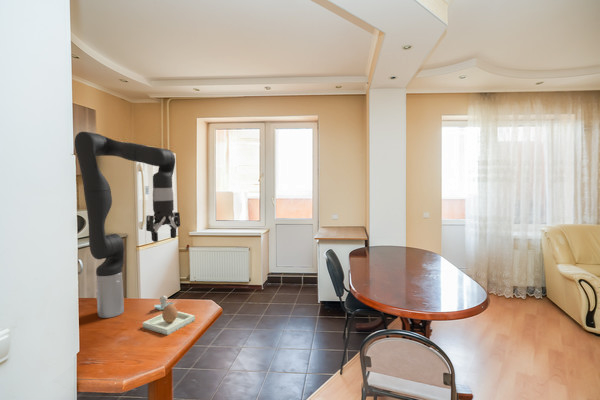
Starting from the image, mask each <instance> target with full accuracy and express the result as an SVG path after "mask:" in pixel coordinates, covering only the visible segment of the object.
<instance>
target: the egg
mask: <svg viewBox="0 0 600 400" xmlns="http://www.w3.org/2000/svg"><path fill="white" fill-rule="evenodd" d="M177 311H178V309H177V307H176V306H175V305H174V304H169V305H167V306H166V307H165V308H164V310H162V313H161V314H162V317H163V319H164V321H165V322H167V323H171V322H173V321H174V320H175V319H176V317H177Z"/></svg>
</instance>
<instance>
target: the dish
mask: <svg viewBox="0 0 600 400" xmlns="http://www.w3.org/2000/svg"><path fill="white" fill-rule="evenodd" d="M195 321H196V315H194V314H190V313H186V312H182V311H180V310H179V311H178V310H177V317H176V319H175V320H174V321H173V322H171V323H167V322H165V321H164V319H163V317H162V313H161V314H159V315H156V316H154V317H152V318H150V319H147V320H145V321H143V322H142V328H143V329H146V330H149V331H153V332H156V333H159V334H162V335H165V336H168V335H171V334H173V333H174V332H176V331H178V330H180V329H182V328H184V327H186V326H187V325H189V324H191V323H193V322H195Z"/></svg>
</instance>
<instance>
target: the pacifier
mask: <svg viewBox="0 0 600 400" xmlns="http://www.w3.org/2000/svg"><path fill="white" fill-rule="evenodd" d="M167 300H168V296H167V295H161V296H160V297H159V302H160V304H154V305H153V306H154V308H155V310H159V311H163V310H164V308H165V307H166V306H167V305H169V304H172V305H174V304H173V303H174V302H172V301H171V302H168V303H167Z"/></svg>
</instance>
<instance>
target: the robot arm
mask: <svg viewBox="0 0 600 400" xmlns="http://www.w3.org/2000/svg"><path fill="white" fill-rule="evenodd" d="M74 150H75V153H76V157H77V160H78V161H77V162H78V165H79V170H80V174H81V179H82V184H83V186H82V187H83V194H84V201H85V207H86V213H87V222H88V243H89V250H90V254H91V255H92V257H93V258H94V259H95V260H103V259H104V261H103V262H101V264H100V265H98V266H97V267H96V269H95V274H96V275H95V276H96V307H97V309H96V310H97V315H98V317H99V318H103V319H105V318H106V319H107V318H108V319H109V318H114V317H117V316H119V315H120V316H121V314H123V313H124V312H125V304H124V284H123V283H124V282H123V267H124V263H125V262H124V261H125V257H124V256H125V248H124V247H125V246H124V245H125V244H124V239H123V237H122V236H121V235H119V234H118V233H109V234H106V229H105V225H106V220H107V217H108V214H109V213H110V210H111V207H112V205H113V197H112V191H111V187H110V184H109V182H108V180H107V179H106V177H105V176H104V175H103V173H102V172H101V170H100V167H99V165H98V162H97V157H104V156H105V157H106V156H109V157H112V156H113V157H118V158H122V159H124V160H127V161H132V162H136V163H143V164H147V165H150V166H154V167H158V170H157V171H156V173H154V174H153V175H152V211H153V215H150V214H149V215H146V220H145V221H146V222H145V227H146V228H145V231H147V232H150V234H151V241H152V242H154V243H156V242H159V233H158V230H159V228H161V227H162V226H165V225H167V226H169V227H170V229H169V230H170V231H169V232H170V238H172V239H175V238H176V236H177V228H179V227H181V217H180V216H181V215H180V212H179V211H177V212H175V211H174V207H175V206H174V205H175V204H174V190H173V174H174V170H175V164H176V157H175V154H174V152H173V151H172V150H170V149H169V148H168V149H167V148H162V147H161V148H160V147H156V146H155V147H153V146H148V145H145V144H139V143H133V142H124V141H118V140H115V139H112V138H109V137H107V136H104V135H101V134H99V133H95V132H89V131H79V132H78V133H77V134H76V135H75V138H74Z"/></svg>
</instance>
